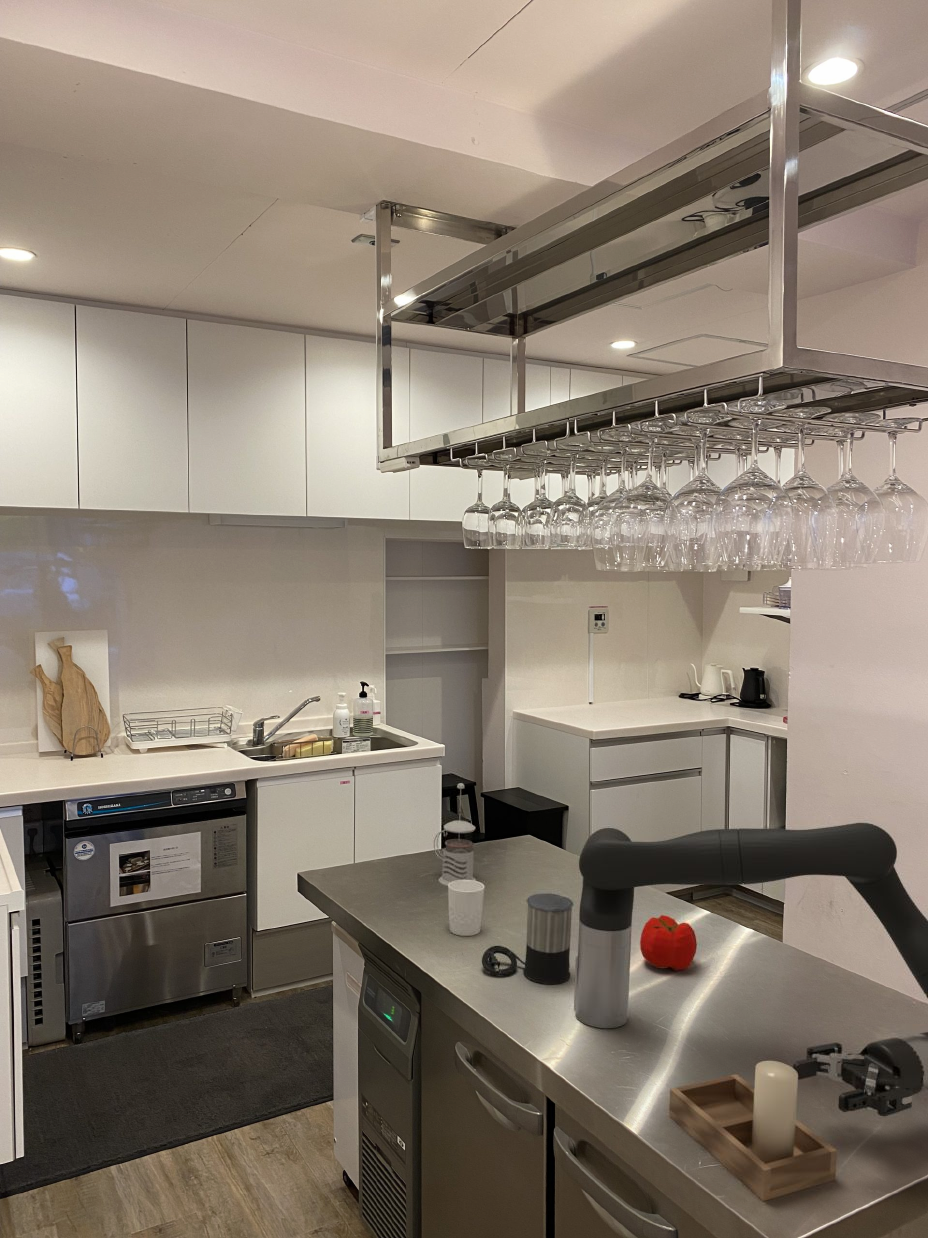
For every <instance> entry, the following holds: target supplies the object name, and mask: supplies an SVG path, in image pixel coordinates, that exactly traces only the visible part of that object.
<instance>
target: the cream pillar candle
mask: <svg viewBox="0 0 928 1238" xmlns="http://www.w3.org/2000/svg"><path fill="white" fill-rule="evenodd" d="M754 1072H755V1073H754V1108H753V1127H752V1147H751V1152H752V1153H753V1154H754V1155H755V1156H757V1157H758V1158H759V1159H760V1160H761V1161H763V1162H764V1163H765V1164H768V1163H771V1162H775V1161H779V1160H782V1159H786V1158H789V1157H793V1156H794V1142H795V1123H796V1120H797V1119H796V1118H797V1104H798V1103H797V1100H798V1086H799V1085H798V1083H799V1080H798V1073H797V1072H796V1070H795V1069H793V1066H791V1065H788V1064H786V1063H784V1062H780V1061H776V1060H763V1061H760V1062H758V1063H756V1064H755V1071H754Z"/></svg>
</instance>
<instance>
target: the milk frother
mask: <svg viewBox="0 0 928 1238" xmlns="http://www.w3.org/2000/svg"><path fill="white" fill-rule="evenodd" d="M526 904H527V922H526V944H525V945H526V947H525V961H523V960H521V958H520V957H519V956H518V955H517V954H516V953H514V951H513V950H511V949H509V948H507V947H505V946H502V945H492V946H490V947H489V948H487V949H486V950H485V951H484V953H483V955H482V956H481V964H482V966H483V968H484V970H485V971H487V972H488V973H490V974H492V975H496V976H508V975H510V974H511V975H512V973H514V972H515V971H516V968H517V966H518V962H517V961H519V962H520V963H521V964H523V965H524V968H523V975H524V976H525V978H527V979H529V980H530V981H532V982H535V983H538V984H544V985H557V984H562V983H565V982H567V981H568V980H570V978H571V973H570V963H571V962H570V954H571V953H570V952H571V951H570V950H571V935H572V934H571V932H572V915H573V912H572V911H573V907H574V902H573V900H572V899H570V897H567V896H564V895H561V894H555V893H552V892H549V893H548V892H547V893H546V892H545V893H534V894H532V895H530V896H528V897H527V899H526ZM496 954H501V955H504V956H506V957H507V958H508V959H509V960H510V965H509V966H507V967H506V968H500V966H501V961H499V960H498V958H497V957H496Z"/></svg>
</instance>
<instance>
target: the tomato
mask: <svg viewBox="0 0 928 1238" xmlns="http://www.w3.org/2000/svg"><path fill="white" fill-rule="evenodd" d="M639 947H640V952H641V956H642V958H643V959H644V960H646V962H648V963H649V964H650V965H651V966H654V967H656V968H659V969H666V968H670V969H672V970H674V971H683V970H686V969H688V968H689V967H690V966H691V965H692V961H693V960H694V958H695V956H696V952H697V947H698V943H697V936H696V933H695V930H694V929H693V928H692V926H691V925H690V924H689V923H688V922H681V923H679V924H678V922H677V921H676V920H675V918H672V917H671V916H668V915H664V914H661V915H660V916H659V917H653V916H652V917H650V918H649V919H648V921H646V923H645V924H644V927H643V928H642V931H641V935H640V941H639Z"/></svg>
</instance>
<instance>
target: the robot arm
mask: <svg viewBox="0 0 928 1238" xmlns="http://www.w3.org/2000/svg"><path fill="white" fill-rule="evenodd" d="M897 850H898V849H897V845H896V842H895V841H894V838H893V837H892V836H891V834H890V833H888V832H887V831H886V830H885V829H883V828H881V827H880V826H878V825H875V824H872V823H868V822H855V823H848V824H842V825H836V826H835V825H833V826H828V827H827V826H826V827H817V828H811V829H810V828H808V829H783V828H782V829H781V828H742V827H741V828H717V829H715V828H714V829H708V830H707V829H706V830H702V831H701V830H699V831H696V832H692V833H690V834H685V835H684V834H683V835H681V836H678V837H673V838H670V839H664V840H658V841H632V840H631V838H630V837H629V836H628V835H627V833H625V832H624V831H621V830H620V829H617V828H612V827H603V828H600V829H598V830H596V831H595V832H593V833H592V834H591V835H590V836H588V838H587V839H586V842H585V844H584V846H583V848H582V850H581V853H580V855H579V860H578V868H579V873H580V874H581V877H582V889H581V896H580V902H579V911H578V912H579V919H578V941H577V942H578V944H577V945H578V946H577V947H578V948H577V956H576V957H575V969H574V970H575V971H574V972H575V973H574V995H573V1009H575V1013H574V1014H575V1017H576V1018H577V1020H579V1021H580V1022H581V1023H583V1024H585V1025H587V1026H590V1027H594V1028H599V1029H600V1028H601V1029H613V1028H618V1027H621V1026H624V1025H625V1024H626V1023H627V1022H628V1015H629V1014H628V1012H629V997H630V996H629V995H630V994H629V993H630V992H629V991H630V973H631V971H630V970H631V953H632V952H631V949H632V948H631V947H632V925H633V924H632V923H633V913H634V910H633V909H634V901H635V900H634V899H635V897H634V896H635V888H639V887H640V888H641V887H647V886H656V885H686V886H695V885H696V886H698V885H703V886H704V885H707V886H708V885H709V886H710V885H711V886H713V885H714V886H715V885H716V886H717V885H718V886H724V885H725V886H730V885H731V886H736V885H738V886H739V885H754V884H763V883H770V882H776V881H780V880H786V879H790V878H796V877H803V876H830V877H831V876H834V877H836V876H837V877H845V878H846V880H847V881H848V882H849V883H850V884H851V885H852V886H853V888H854V889H855V890H856V891H857V893H858V894H859V895H860V897H862V898H863V900H864V901H865V902H866V904H867V905H868V907H869V908H870V909H871V911H872V912H873V913H874V914H875V916H876V917H877V919H878V920H879V922H881V925H883V928H884V929H885V931H886V932H887V934H888V935H889V937H890V938H891V940H892V942H893V944H894V946H895V947H896V949H897V950H898V953H899V954H900V956H901V957H902V959H903V960H904V963H905V964H906V966H907V967H908V969H909V971H910V973H911V975H912V976H913V977H914V978H915V981H916V982H917V984H918V985H919V987H920V989H921V990H922V992H923V994H924V995H925V996H926V998H927V999H928V919H927V918H926V916H925V915H924V914H923V913H922V912H921V910H920V909H919V907H918V906H917V905H916V904H915V902H914V901H913V899H912V898H911V897H910V895H909V893H908V891H907V890H906V888H905V886H904V884H903V883H902V881H901V879H900V877H899V874H898V872H897V870H896V868H895V864H896V861H897V856H898V851H897ZM840 1063H841V1065H840V1073H838V1072H837V1065H838V1064H840ZM824 1066H829V1067H828V1068H822V1067H824ZM792 1068H793V1069H795V1070H796V1072H797V1073H798V1081H800V1080H803V1079H808V1078H812V1077H816V1076H817V1075H818V1076H823V1077H828V1078H829V1079H830V1080H831V1081H833V1082H841V1083H845V1084H847V1085H849V1086H851V1087H853V1090H850V1091H845V1092H841V1093H840V1094H839V1096H838V1110H840V1111H842V1113H847V1112H855V1111H858V1110H863V1109H865V1110H867V1111H873V1110H876V1111H877V1114H878V1116H881V1117H887V1116H890V1115H894V1114H896V1113H900V1112H902V1111H905V1110H908V1109H911V1108H912V1106H913V1096H914V1095H918V1094H921V1093H922V1094H923V1093H926V1092H928V1031H926V1032H921V1033H915V1034H904V1035H898V1036H895V1037H890V1038H886V1039H882V1040H877V1041H872V1042H870V1043H868V1044H867V1045H865V1047H864V1048H863V1049H862V1050H861V1051H860V1053H846V1052H844V1051H843V1044H841V1043H840V1042H831V1043H828V1044H827V1043H825V1044H821V1045H814V1046H808V1047H807V1048H806V1059H802V1060H798V1061H795V1062H793V1065H792Z"/></svg>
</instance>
